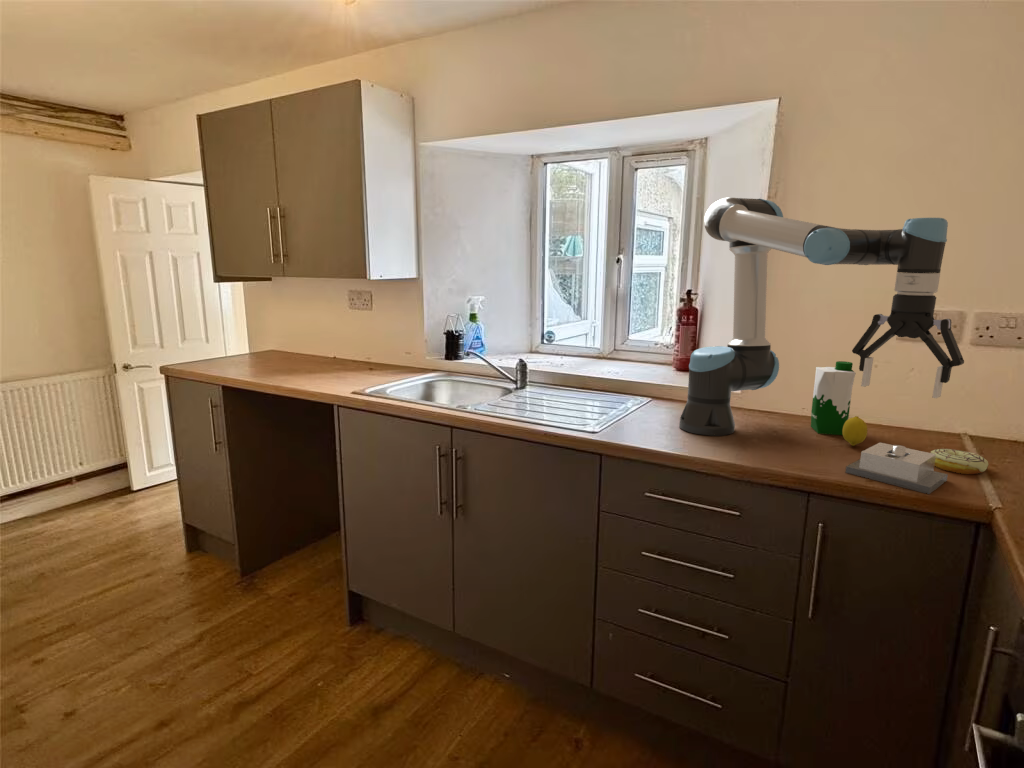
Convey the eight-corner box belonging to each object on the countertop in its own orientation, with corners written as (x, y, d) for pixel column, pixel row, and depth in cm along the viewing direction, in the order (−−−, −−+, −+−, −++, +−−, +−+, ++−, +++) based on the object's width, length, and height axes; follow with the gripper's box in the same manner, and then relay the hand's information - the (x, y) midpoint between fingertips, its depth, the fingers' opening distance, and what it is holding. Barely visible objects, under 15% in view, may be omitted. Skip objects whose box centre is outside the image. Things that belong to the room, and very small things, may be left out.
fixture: (845, 472, 128) (849, 443, 127) (866, 461, 136) (869, 433, 134) (929, 494, 116) (934, 461, 115) (946, 480, 123) (951, 450, 122)
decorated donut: (995, 479, 125) (998, 463, 124) (938, 473, 128) (940, 457, 128) (974, 464, 135) (977, 448, 134) (922, 459, 138) (924, 444, 137)
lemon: (842, 441, 152) (846, 412, 150) (866, 445, 148) (870, 415, 146) (838, 446, 147) (842, 416, 146) (863, 450, 144) (867, 420, 142)
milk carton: (850, 436, 156) (859, 365, 152) (815, 434, 158) (823, 364, 154) (839, 427, 164) (847, 360, 160) (805, 426, 166) (813, 359, 162)
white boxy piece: (877, 458, 133) (879, 442, 132) (933, 471, 125) (936, 454, 124) (859, 468, 126) (861, 451, 126) (916, 483, 118) (919, 465, 117)
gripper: (844, 291, 127) (831, 383, 131) (984, 297, 108) (964, 405, 112) (857, 290, 131) (845, 379, 136) (994, 296, 112) (974, 399, 117)
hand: (899, 391), depth 124 cm, fingers open, 13 cm apart
